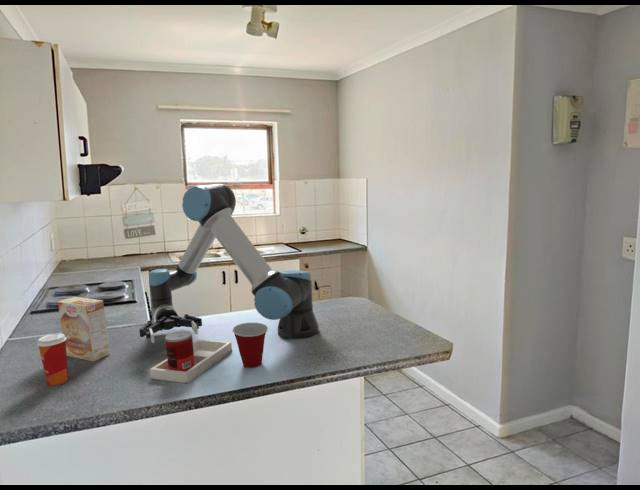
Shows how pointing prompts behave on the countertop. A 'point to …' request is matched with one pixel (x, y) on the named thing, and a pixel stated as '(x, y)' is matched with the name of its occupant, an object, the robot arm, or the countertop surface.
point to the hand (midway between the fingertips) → (175, 334)
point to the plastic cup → (250, 342)
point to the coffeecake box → (84, 328)
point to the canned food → (180, 351)
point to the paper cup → (54, 358)
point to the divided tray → (203, 358)
